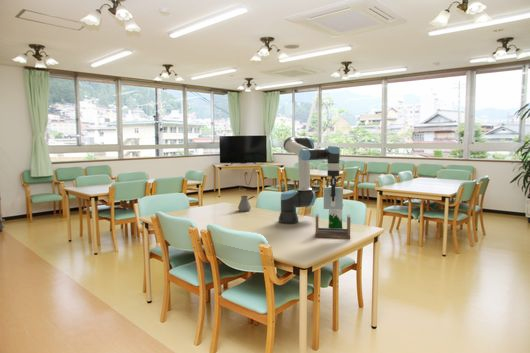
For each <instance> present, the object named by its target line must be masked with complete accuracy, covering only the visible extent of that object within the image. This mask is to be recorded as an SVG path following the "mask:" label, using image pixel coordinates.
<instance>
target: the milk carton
mask: <svg viewBox="0 0 530 353" xmlns="http://www.w3.org/2000/svg"><path fill="white" fill-rule="evenodd" d="M343 207H344V203H343V204H342V209H328V228H338V229H343Z"/></svg>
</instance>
